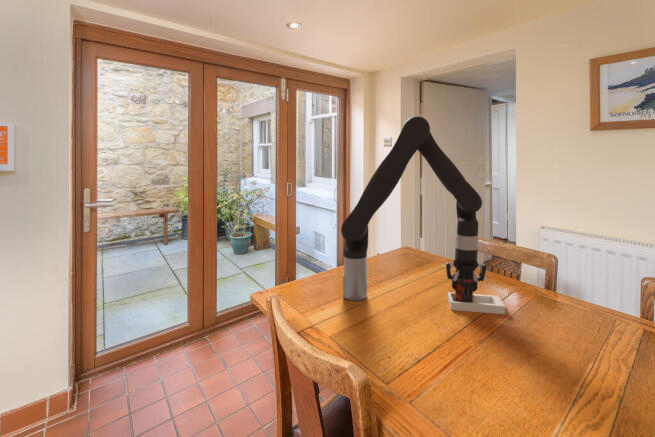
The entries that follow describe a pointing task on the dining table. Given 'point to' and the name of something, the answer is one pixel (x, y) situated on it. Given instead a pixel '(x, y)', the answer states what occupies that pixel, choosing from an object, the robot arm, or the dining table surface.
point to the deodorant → (464, 283)
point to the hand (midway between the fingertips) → (464, 290)
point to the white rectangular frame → (478, 304)
